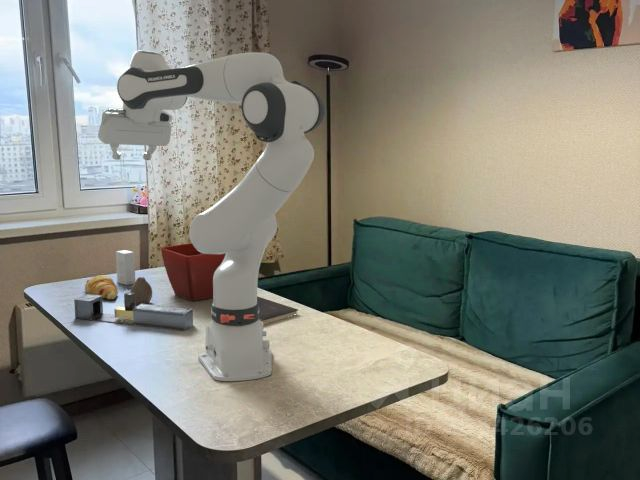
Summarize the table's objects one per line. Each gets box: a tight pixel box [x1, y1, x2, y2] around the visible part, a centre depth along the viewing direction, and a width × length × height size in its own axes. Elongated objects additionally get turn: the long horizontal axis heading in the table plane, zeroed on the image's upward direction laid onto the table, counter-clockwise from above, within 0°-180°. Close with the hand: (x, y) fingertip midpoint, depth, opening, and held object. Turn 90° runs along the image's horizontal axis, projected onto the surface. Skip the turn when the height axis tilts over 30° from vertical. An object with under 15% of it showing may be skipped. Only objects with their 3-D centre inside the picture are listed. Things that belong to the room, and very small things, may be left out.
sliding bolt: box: [114, 291, 137, 319], centre depth 172 cm, size 22×3×7 cm, turn 76°
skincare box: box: [115, 249, 136, 286], centre depth 216 cm, size 6×4×12 cm
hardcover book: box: [257, 295, 299, 325], centre depth 187 cm, size 16×23×2 cm
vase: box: [130, 276, 153, 306], centre depth 191 cm, size 7×7×9 cm
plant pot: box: [160, 242, 226, 302], centre depth 202 cm, size 19×19×17 cm
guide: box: [73, 293, 194, 332], centre depth 174 cm, size 36×6×6 cm, turn 76°
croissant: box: [84, 274, 118, 300], centre depth 201 cm, size 21×10×8 cm, turn 44°
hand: (131, 159), depth 162 cm, fingers open, 8 cm apart
